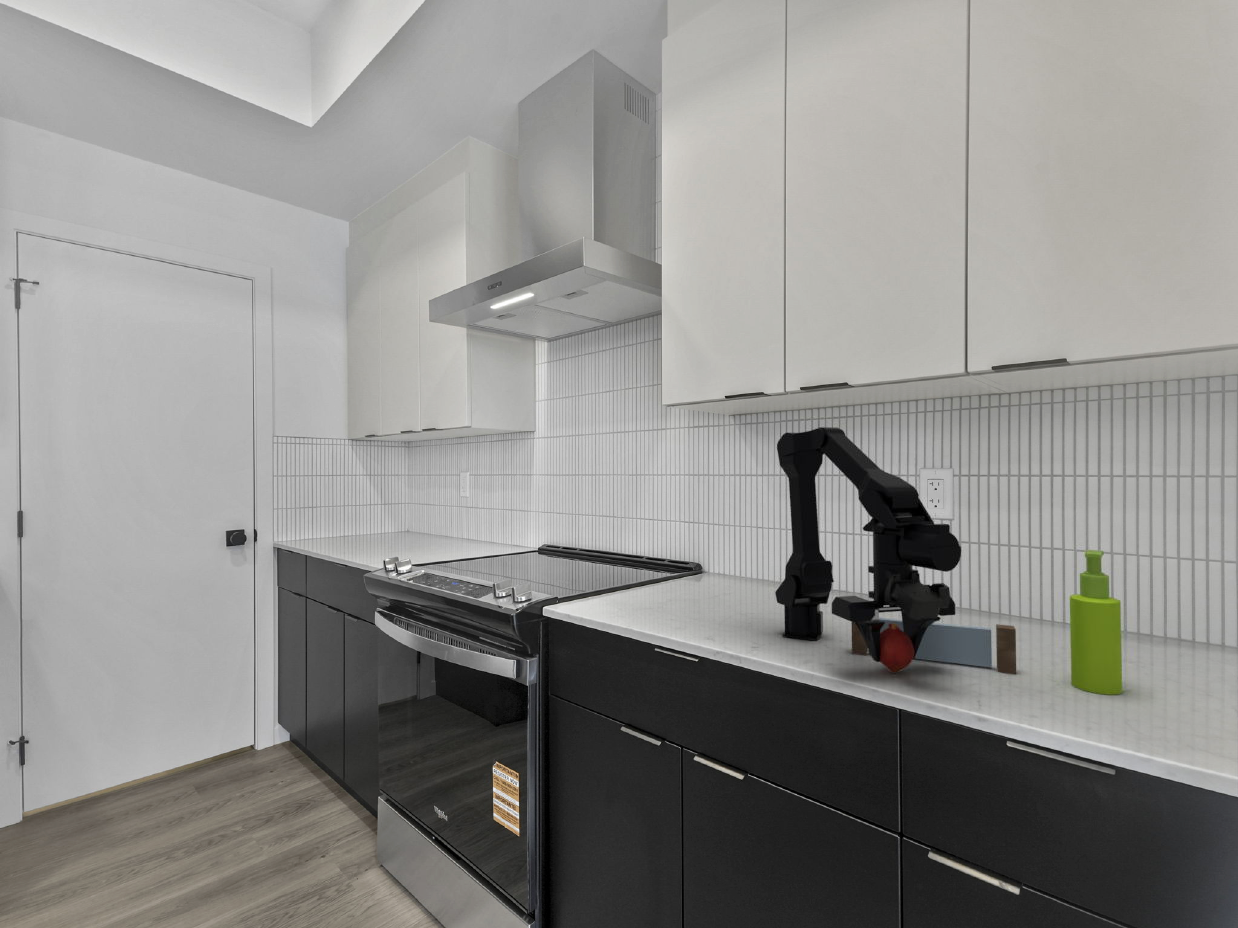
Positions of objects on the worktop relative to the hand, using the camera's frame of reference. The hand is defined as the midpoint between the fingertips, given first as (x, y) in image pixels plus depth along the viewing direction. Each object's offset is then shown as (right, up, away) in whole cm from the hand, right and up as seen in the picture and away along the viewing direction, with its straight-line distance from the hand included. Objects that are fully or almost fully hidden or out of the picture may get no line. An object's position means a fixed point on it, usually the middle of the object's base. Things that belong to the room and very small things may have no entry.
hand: (893, 659), depth 96 cm
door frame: (+9, -2, +6) cm, 10 cm away
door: (+8, -2, +6) cm, 10 cm away
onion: (0, -2, 0) cm, 2 cm away
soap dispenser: (+27, -2, -7) cm, 28 cm away
